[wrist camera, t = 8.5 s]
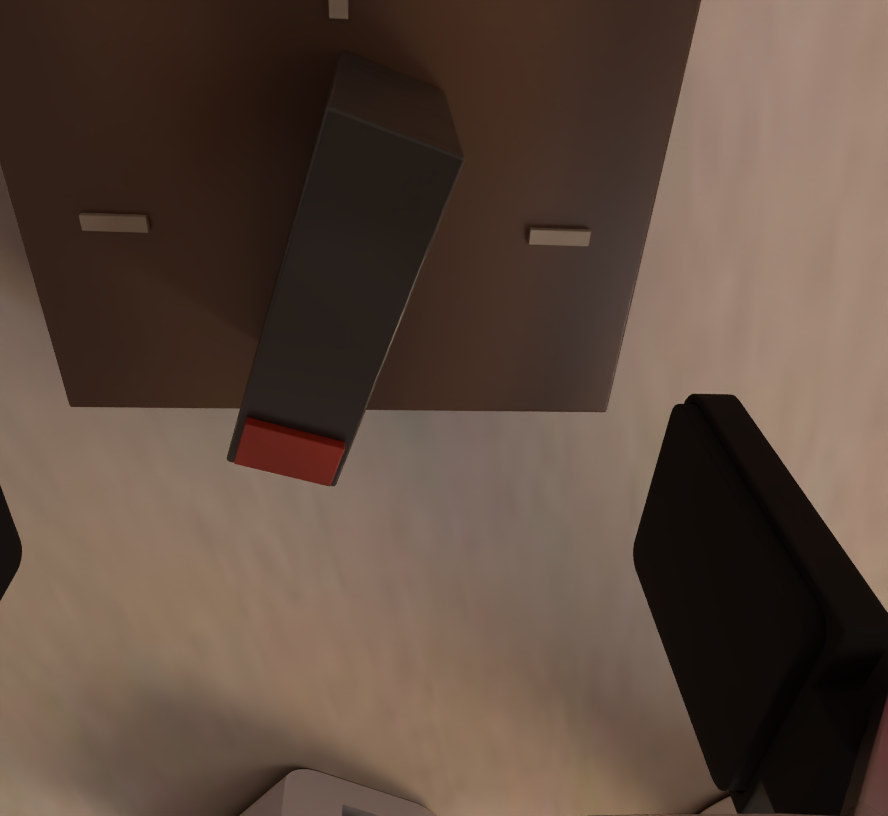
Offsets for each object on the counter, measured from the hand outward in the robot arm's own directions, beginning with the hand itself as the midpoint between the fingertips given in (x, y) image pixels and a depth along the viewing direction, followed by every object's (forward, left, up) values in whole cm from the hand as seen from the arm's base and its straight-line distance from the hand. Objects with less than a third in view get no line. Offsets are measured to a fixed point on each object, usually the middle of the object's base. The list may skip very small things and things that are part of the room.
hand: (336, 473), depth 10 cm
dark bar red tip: (0, 0, -8) cm, 8 cm away
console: (0, 0, -11) cm, 11 cm away
